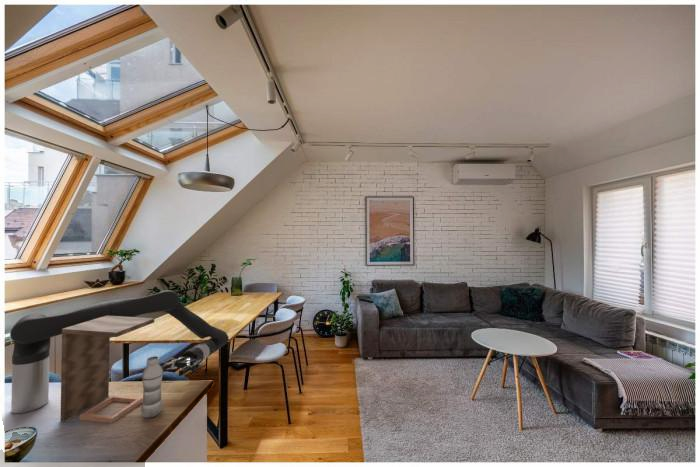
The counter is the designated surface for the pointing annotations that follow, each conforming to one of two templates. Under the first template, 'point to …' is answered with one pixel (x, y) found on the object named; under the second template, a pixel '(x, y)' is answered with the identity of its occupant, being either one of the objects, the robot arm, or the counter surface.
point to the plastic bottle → (152, 388)
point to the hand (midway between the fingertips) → (169, 372)
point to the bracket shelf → (90, 360)
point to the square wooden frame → (105, 418)
